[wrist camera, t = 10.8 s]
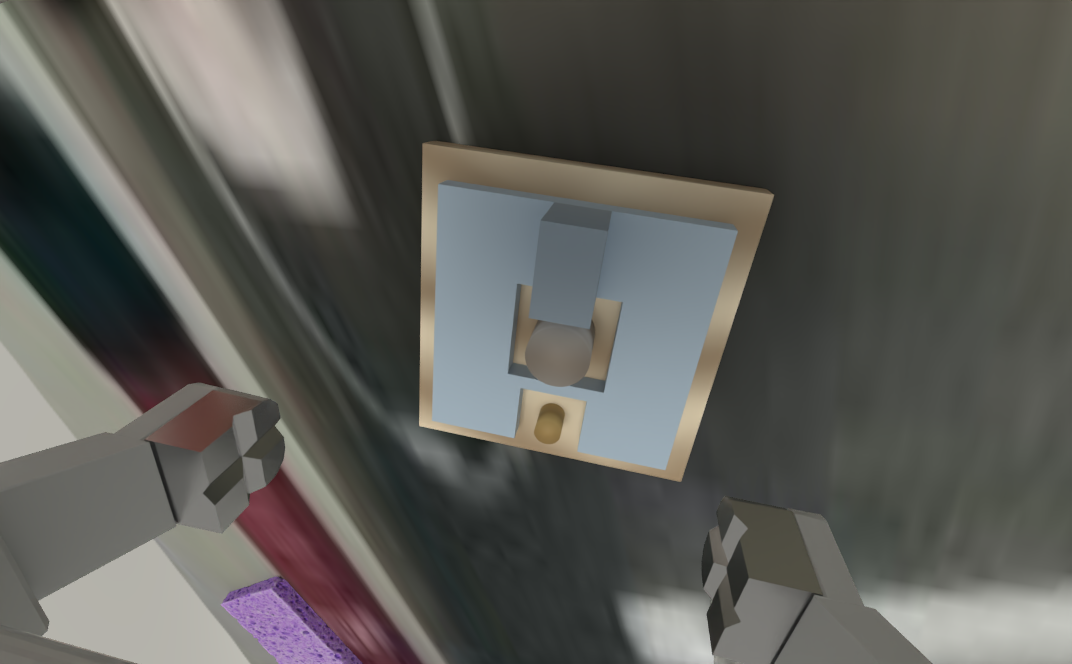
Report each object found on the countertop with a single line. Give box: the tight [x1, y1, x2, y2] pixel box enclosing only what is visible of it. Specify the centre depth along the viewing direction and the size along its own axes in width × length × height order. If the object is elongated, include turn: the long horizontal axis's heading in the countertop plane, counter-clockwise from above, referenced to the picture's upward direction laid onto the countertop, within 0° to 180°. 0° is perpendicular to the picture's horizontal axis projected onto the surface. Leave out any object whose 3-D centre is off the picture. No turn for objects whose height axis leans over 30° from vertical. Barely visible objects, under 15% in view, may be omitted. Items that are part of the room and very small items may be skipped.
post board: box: [419, 141, 774, 482], centre depth 25 cm, size 16×16×4 cm
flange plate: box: [432, 180, 738, 470], centre depth 23 cm, size 13×13×5 cm
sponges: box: [221, 577, 362, 664], centre depth 44 cm, size 7×13×2 cm, turn 30°
